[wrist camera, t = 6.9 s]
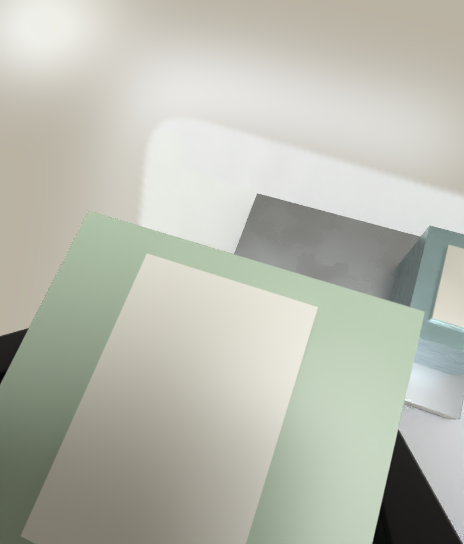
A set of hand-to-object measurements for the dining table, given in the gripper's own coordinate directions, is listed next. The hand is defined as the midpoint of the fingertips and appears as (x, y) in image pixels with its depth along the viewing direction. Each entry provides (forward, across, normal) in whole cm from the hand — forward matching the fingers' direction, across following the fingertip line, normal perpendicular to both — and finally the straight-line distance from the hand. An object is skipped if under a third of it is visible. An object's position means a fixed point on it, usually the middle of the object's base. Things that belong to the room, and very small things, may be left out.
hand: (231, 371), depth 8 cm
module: (+4, 0, +6) cm, 7 cm away
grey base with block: (+13, -2, +5) cm, 14 cm away
